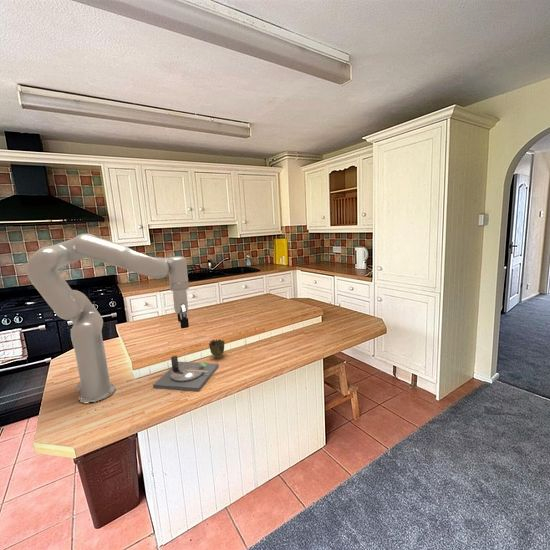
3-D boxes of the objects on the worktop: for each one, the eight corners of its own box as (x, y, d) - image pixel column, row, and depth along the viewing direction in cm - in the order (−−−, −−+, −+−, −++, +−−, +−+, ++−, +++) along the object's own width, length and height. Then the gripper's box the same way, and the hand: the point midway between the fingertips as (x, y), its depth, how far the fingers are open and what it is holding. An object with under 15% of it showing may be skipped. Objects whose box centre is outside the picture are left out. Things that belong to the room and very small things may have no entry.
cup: (222, 361, 139) (220, 345, 138) (207, 360, 141) (206, 344, 139) (227, 354, 146) (226, 339, 145) (214, 353, 148) (212, 338, 146)
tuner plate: (153, 388, 119) (152, 384, 119) (178, 364, 138) (178, 361, 138) (198, 391, 115) (198, 387, 114) (218, 366, 134) (218, 363, 134)
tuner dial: (163, 380, 121) (161, 364, 120) (180, 364, 134) (179, 350, 133) (201, 383, 117) (199, 366, 116) (214, 366, 131) (213, 351, 130)
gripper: (168, 283, 130) (172, 320, 133) (172, 291, 115) (176, 332, 118) (185, 281, 133) (189, 317, 136) (191, 288, 118) (195, 328, 121)
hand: (183, 324), depth 127 cm, fingers open, 9 cm apart
